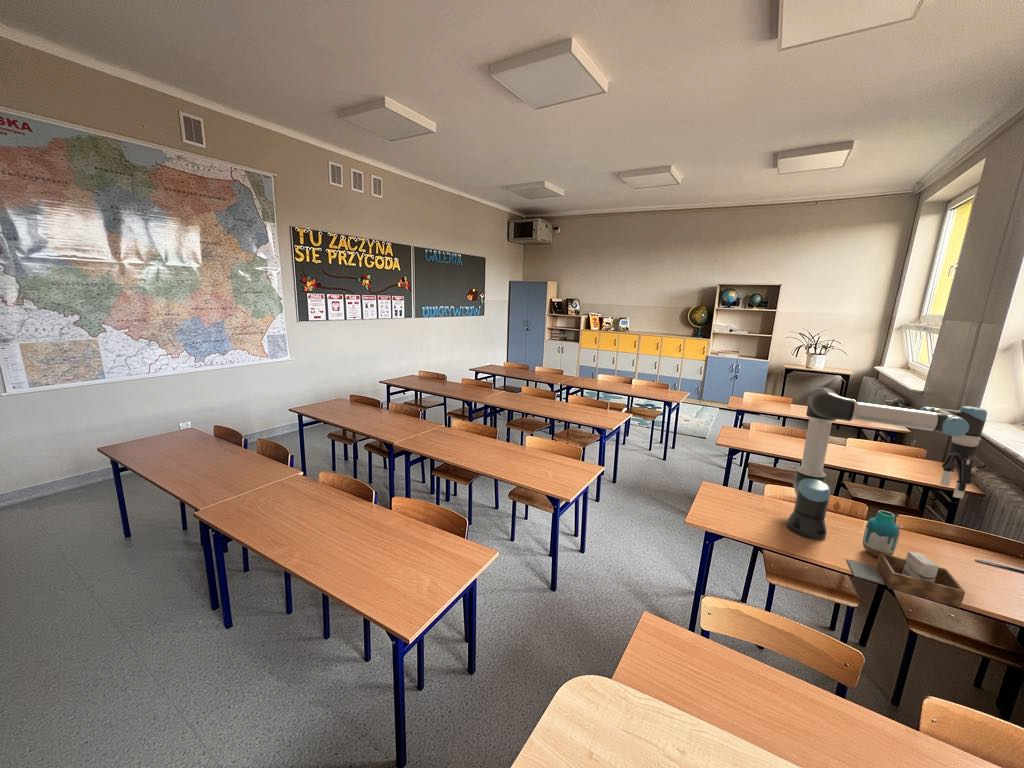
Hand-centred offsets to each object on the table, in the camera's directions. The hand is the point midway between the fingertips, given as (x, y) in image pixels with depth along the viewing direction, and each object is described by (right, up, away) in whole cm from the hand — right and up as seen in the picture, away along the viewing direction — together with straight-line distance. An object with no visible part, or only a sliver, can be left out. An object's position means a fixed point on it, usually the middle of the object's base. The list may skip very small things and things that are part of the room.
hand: (950, 491), depth 177 cm
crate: (-34, -31, -20) cm, 50 cm away
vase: (-32, -27, 0) cm, 42 cm away
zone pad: (-47, -28, -13) cm, 57 cm away
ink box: (-34, -31, -20) cm, 50 cm away
